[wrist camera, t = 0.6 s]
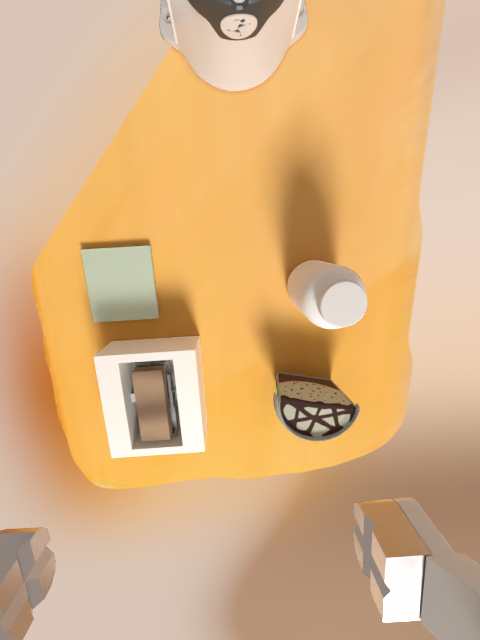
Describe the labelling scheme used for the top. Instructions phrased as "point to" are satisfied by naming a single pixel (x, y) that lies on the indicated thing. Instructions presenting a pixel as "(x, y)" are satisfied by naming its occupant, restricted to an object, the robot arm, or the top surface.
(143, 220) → the top surface
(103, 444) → the top surface
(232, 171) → the top surface
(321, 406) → the food container
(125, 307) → the sage pad
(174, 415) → the cradle
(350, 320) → the pill bottle
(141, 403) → the walnut slab
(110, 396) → the pocket jig
